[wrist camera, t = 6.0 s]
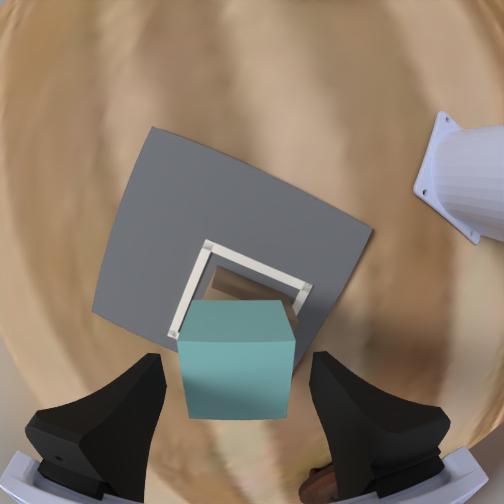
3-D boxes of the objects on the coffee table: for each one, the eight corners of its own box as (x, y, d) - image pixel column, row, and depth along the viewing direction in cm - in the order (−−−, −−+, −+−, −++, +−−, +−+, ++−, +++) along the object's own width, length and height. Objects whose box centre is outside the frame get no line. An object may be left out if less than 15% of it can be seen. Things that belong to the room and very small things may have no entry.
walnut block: (286, 294, 18) (299, 322, 14) (255, 352, 19) (258, 387, 15) (217, 265, 17) (211, 287, 14) (190, 327, 18) (179, 360, 14)
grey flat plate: (369, 227, 18) (373, 229, 17) (280, 383, 21) (281, 388, 20) (154, 128, 16) (151, 125, 15) (94, 308, 18) (90, 312, 18)
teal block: (280, 300, 14) (295, 340, 10) (276, 369, 15) (286, 418, 11) (192, 299, 14) (176, 340, 10) (198, 369, 15) (189, 418, 11)
